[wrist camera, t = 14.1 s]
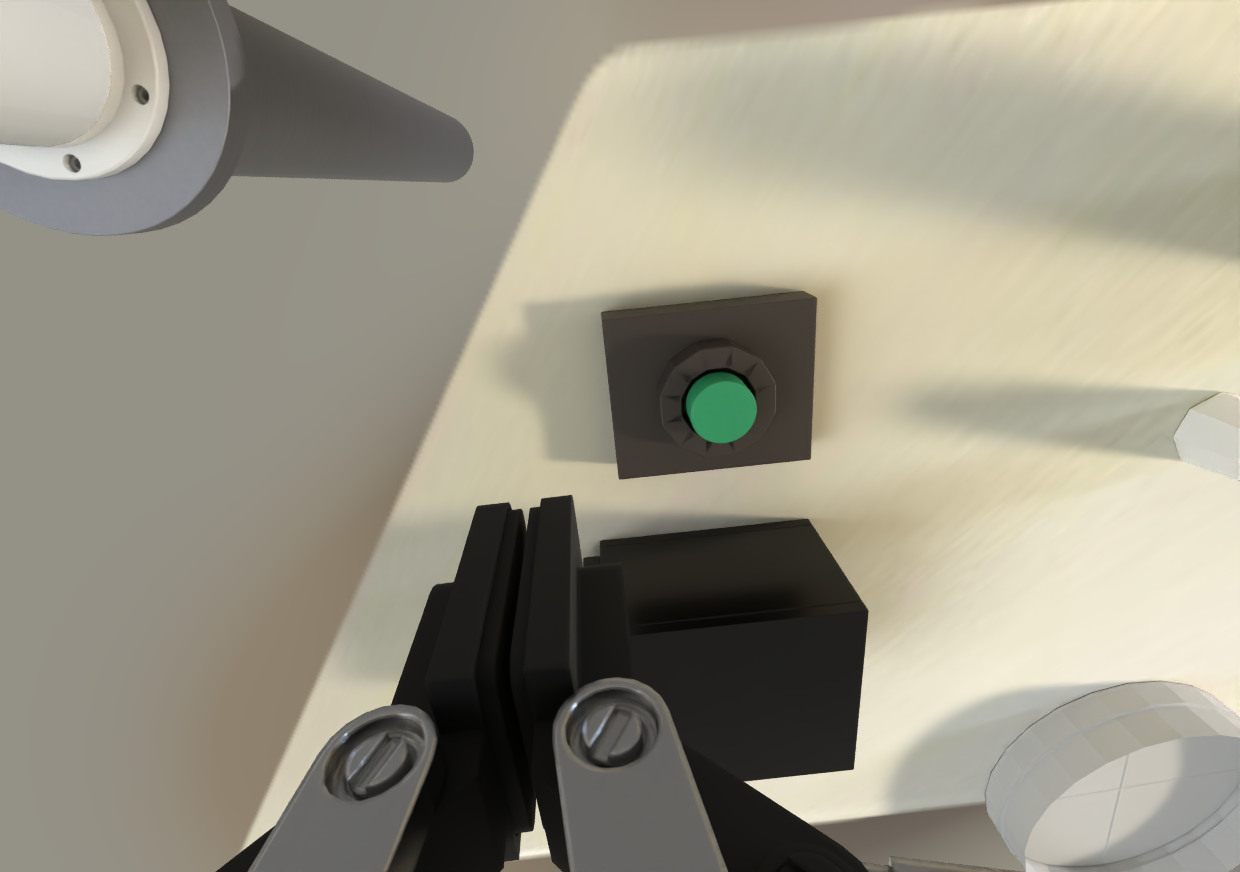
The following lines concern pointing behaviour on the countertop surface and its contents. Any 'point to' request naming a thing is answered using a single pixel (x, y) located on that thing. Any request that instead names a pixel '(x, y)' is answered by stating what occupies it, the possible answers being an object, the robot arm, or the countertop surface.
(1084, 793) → the dish
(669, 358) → the control block
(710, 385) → the button
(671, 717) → the robot arm
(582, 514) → the countertop surface
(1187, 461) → the salt shaker
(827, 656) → the cabinet
